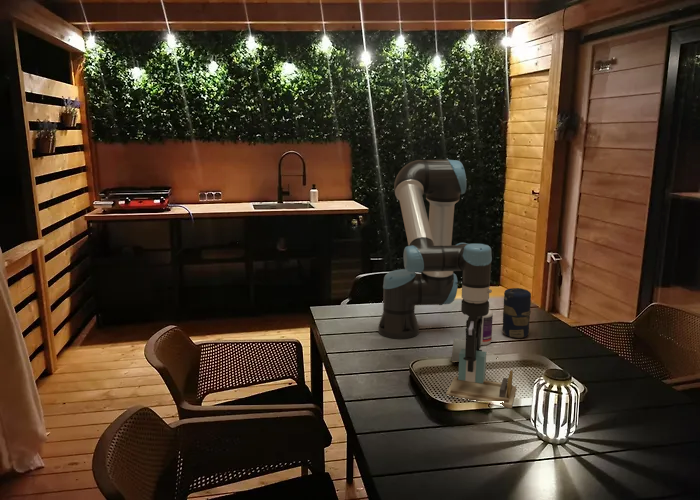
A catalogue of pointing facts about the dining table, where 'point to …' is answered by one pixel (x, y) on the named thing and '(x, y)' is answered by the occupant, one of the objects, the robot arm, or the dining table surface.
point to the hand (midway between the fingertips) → (471, 377)
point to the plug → (479, 366)
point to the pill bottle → (486, 328)
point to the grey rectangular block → (457, 348)
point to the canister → (516, 312)
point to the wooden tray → (484, 390)
